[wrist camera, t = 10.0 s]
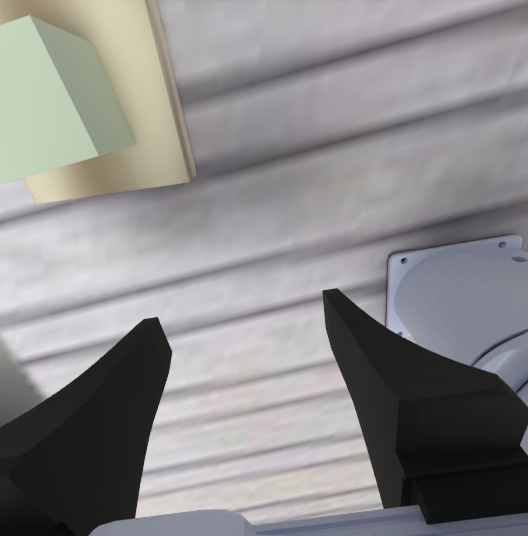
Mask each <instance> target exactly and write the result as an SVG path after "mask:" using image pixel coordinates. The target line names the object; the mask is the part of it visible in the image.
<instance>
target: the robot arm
mask: <svg viewBox="0 0 528 536" xmlns="http://www.w3.org/2000/svg"><path fill="white" fill-rule="evenodd" d="M501 242H502V243H501ZM500 243H501V244H500ZM522 243H523V238H522V237H521V236H519V235H508V236H502V237H496V238H490V239H484V240H478V241H472V242H465V243H459V244H453V245H447V246H441V247H435V248H429V249H423V250H417V251H411V252H405V253H398V254H394V255H392V256H391V257H390V258H389V261H388V289H387V319H386V327H385V326H383V325H382V324H380V323H379V322H377V321H376V320H375V319H373V318H372V317H371V316H369V315H368V314H367V313H365V312H364V311H363V310H362V309H360V308H359V307H358V306H357V305H355V304H354V303H353V302H352V301H351V300H350V299H349V298H347V297H346V296H345V295H344V294H343V293H342V292H341V291H340V290H338V289H337V288H336V289H330V290H323V302H324V313H325V325H326V331H327V334H328V338H329V342H330V345H331V349H332V351H333V354H334V356H335V359H336V361H337V364H338V366H339V368H340V371H341V373H342V376H343V378H344V380H345V383H346V385H347V388H348V390H349V393H350V395H351V398H352V401H353V403H354V406H355V410H356V413H357V416H358V419H359V423H360V426H361V429H362V433H363V436H364V440H365V443H366V446H367V450H368V453H369V457H370V460H371V464H372V468H373V471H374V475H375V478H376V482H377V485H378V489H379V493H380V497H381V500H382V504H383V508H384V509H381V510H373V511H365V512H357V513H349V514H341V515H333V516H325V517H317V518H309V519H301V520H292V521H284V522H276V523H268V524H260V525H251V524H250V523H249V522H248V521H247V520H246V519H245V518H244V517H243V516H242V515H241V514H238V513H234V512H231V511H228V510H197V511H190V512H182V513H174V514H166V515H158V516H150V517H143V518H135V515H136V508H137V502H138V495H139V489H140V482H141V477H142V471H143V466H144V460H145V455H146V451H147V446H148V441H149V436H150V432H151V429H152V425H153V421H154V418H155V415H156V412H157V409H158V406H159V403H160V400H161V396H162V393H163V390H164V387H165V384H166V381H167V377H168V374H169V369H170V363H171V357H172V350H171V348H170V345H169V343H168V341H167V338H166V336H165V334H164V331H163V329H162V326H161V324H160V322H159V319H158V317H155V318H148V319H144V320H142V321H141V322H140V323H139V324H138V325H136V326H135V327H134V328H133V329H132V330H131V331H130V332H129V333H128V334H127V335H126V336H125V337H123V338H122V339H121V340H120V341H119V342H118V343H117V344H116V345H115V346H114V347H113V348H112V349H110V350H109V351H108V352H107V353H106V354H105V355H104V356H103V357H101V358H100V359H99V360H98V361H97V362H96V363H94V364H93V365H92V366H91V367H90V368H89V369H87V370H86V371H85V372H84V373H82V374H81V375H80V376H79V377H77V378H76V379H75V380H73V381H72V382H71V383H69V384H68V385H67V386H65V387H64V388H63V389H61V390H60V391H58V392H57V393H55V394H54V395H52V396H51V397H49V398H48V399H46V400H45V401H43V402H42V403H40V404H39V405H37V406H36V407H34V408H32V409H31V410H29V411H28V412H26V413H24V414H23V415H21V416H19V417H18V418H16V419H14V420H12V421H11V422H9V423H7V424H5V425H4V426H2V427H0V536H528V252H526V251H524V250H522V249H521V247H522ZM499 244H500V245H499ZM498 245H499V246H498ZM402 258H405V260H404V261H402V262H400V261H401V259H402ZM398 332H400V333H398ZM397 333H398V334H397ZM405 337H413V339H414V340H415V341H416V343H417V344H418V345H417V344H415V343H413V342H411V341H409V340H407V339H405Z"/></svg>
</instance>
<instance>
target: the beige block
mask: <svg viewBox="0 0 528 536" xmlns="http://www.w3.org/2000/svg"><path fill="white" fill-rule="evenodd" d="M28 15H30V16H33V17H35V18H37V19H39V20H42V21H44V22H46V23H48V24H51V25H53V26H55V27H58V28H60V29H62V30H64V31H67V32H69V33H71V34H73V35H76V36H78V37H80V38H82V39H85V40H87V41H89V42H92V43H93V45H94V47H95V49H96V52H97V54H98V56H99V59H100V61H101V63H102V66H103V68H104V70H105V73H106V75H107V77H108V80H109V82H110V84H111V87H112V89H113V91H114V93H115V96H116V98H117V100H118V103H119V105H120V107H121V110H122V112H123V114H124V117H125V119H126V121H127V124H128V126H129V128H130V131H131V133H132V135H133V138H134V140H135V142H136V145H134V146H131V147H127V148H124V149H120V150H117V151H114V152H110V153H107V154H104V155H100V156H97V157H94V158H90V159H87V160H83V161H80V162H77V163H73V164H70V165H67V166H63V167H60V168H57V169H53V170H50V171H46V172H43V173H40V174H36V175H33V176H30V177H26V178H23V180H24V182H25V184H26V186H27V188H28V190H29V192H30V194H31V196H32V198H33V200H34V202H35V204H39V203H46V202H53V201H61V200H68V199H75V198H82V197H89V196H96V195H103V194H110V193H117V192H124V191H132V190H139V189H146V188H153V187H160V186H167V185H174V184H181V183H188V182H190V181H191V180H192V179H193V178H194V176H195V175H196V174H197V172H196V168H195V163H194V159H193V155H192V150H191V146H190V142H189V137H188V133H187V129H186V124H185V120H184V116H183V111H182V107H181V103H180V98H179V94H178V89H177V85H176V81H175V76H174V72H173V68H172V63H171V59H170V55H169V50H168V46H167V42H166V37H165V33H164V29H163V24H162V20H161V16H160V11H159V7H158V3H157V0H0V25H2V24H5V23H8V22H11V21H14V20H17V19H20V18H22V17H25V16H28Z"/></svg>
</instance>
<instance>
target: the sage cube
mask: <svg viewBox="0 0 528 536" xmlns="http://www.w3.org/2000/svg"><path fill="white" fill-rule="evenodd" d="M134 145H136V142H135V140H134V138H133V135H132V133H131V131H130V128H129V126H128V124H127V121H126V119H125V117H124V114H123V112H122V110H121V107H120V105H119V103H118V100H117V98H116V96H115V93H114V91H113V89H112V87H111V84H110V82H109V80H108V77H107V75H106V73H105V70H104V68H103V66H102V63H101V61H100V59H99V56H98V54H97V52H96V49H95V47H94V45H93V43H92V42H89V41H87V40H85V39H82V38H80V37H78V36H76V35H73V34H71V33H69V32H67V31H64V30H62V29H60V28H58V27H55V26H53V25H51V24H48V23H46V22H44V21H42V20H39V19H37V18H35V17H33V16H30V15H28V16H25V17H22V18H20V19H17V20H14V21H11V22H8V23H5V24H2V25H0V185H3V184H6V183H9V182H13V181H16V180H19V179H23V178H26V177H30V176H33V175H36V174H40V173H43V172H46V171H50V170H53V169H57V168H60V167H63V166H67V165H70V164H73V163H77V162H80V161H83V160H87V159H90V158H94V157H97V156H100V155H104V154H107V153H110V152H114V151H117V150H120V149H124V148H127V147H131V146H134Z"/></svg>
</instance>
